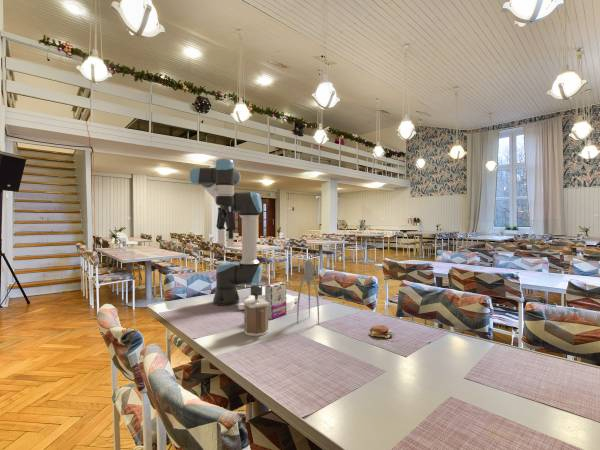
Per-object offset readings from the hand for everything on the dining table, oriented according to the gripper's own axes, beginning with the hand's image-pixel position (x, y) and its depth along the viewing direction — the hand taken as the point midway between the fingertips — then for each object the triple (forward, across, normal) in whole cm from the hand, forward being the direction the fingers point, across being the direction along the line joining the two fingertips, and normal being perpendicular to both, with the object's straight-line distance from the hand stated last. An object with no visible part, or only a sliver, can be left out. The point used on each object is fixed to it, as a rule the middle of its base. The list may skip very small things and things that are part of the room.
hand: (225, 245), depth 134 cm
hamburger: (+39, +37, +56) cm, 78 cm away
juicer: (+38, +4, +39) cm, 55 cm away
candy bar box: (+39, -10, +28) cm, 49 cm away
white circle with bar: (+39, -28, +33) cm, 58 cm away
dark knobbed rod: (+35, +6, +11) cm, 38 cm away
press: (+38, +7, +11) cm, 40 cm away
